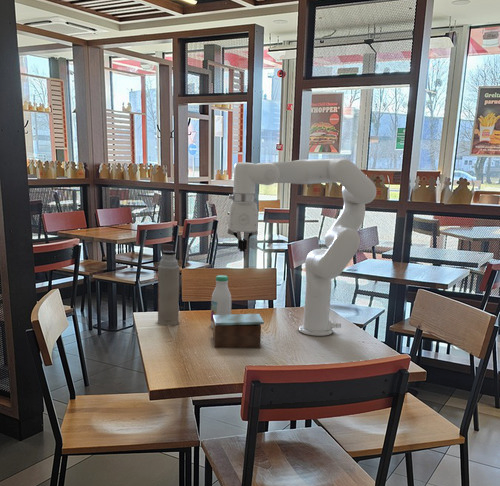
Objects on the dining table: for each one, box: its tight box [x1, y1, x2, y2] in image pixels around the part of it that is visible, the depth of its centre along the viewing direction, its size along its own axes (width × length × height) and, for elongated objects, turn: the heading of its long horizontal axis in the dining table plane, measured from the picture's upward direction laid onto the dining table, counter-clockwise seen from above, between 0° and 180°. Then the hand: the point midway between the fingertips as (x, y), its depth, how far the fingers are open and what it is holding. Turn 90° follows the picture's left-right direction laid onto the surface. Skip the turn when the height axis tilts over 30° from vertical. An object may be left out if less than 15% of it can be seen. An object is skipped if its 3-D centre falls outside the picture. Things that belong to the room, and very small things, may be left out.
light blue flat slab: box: [213, 313, 265, 325], centre depth 199 cm, size 16×11×1 cm
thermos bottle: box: [157, 250, 180, 327], centre depth 220 cm, size 8×8×28 cm
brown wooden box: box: [212, 317, 262, 349], centre depth 200 cm, size 16×11×8 cm
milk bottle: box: [210, 274, 232, 329], centre depth 218 cm, size 8×8×20 cm
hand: (241, 251), depth 204 cm, fingers closed
